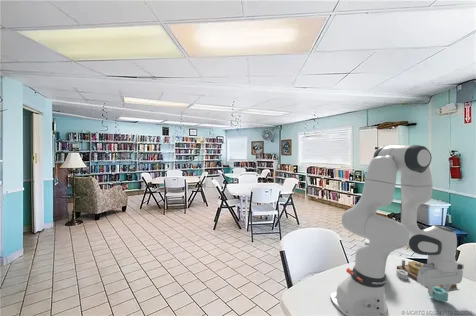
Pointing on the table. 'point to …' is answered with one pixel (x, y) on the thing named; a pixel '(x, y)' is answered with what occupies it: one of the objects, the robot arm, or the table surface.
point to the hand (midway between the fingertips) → (437, 293)
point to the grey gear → (402, 274)
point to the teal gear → (440, 294)
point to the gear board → (415, 270)
